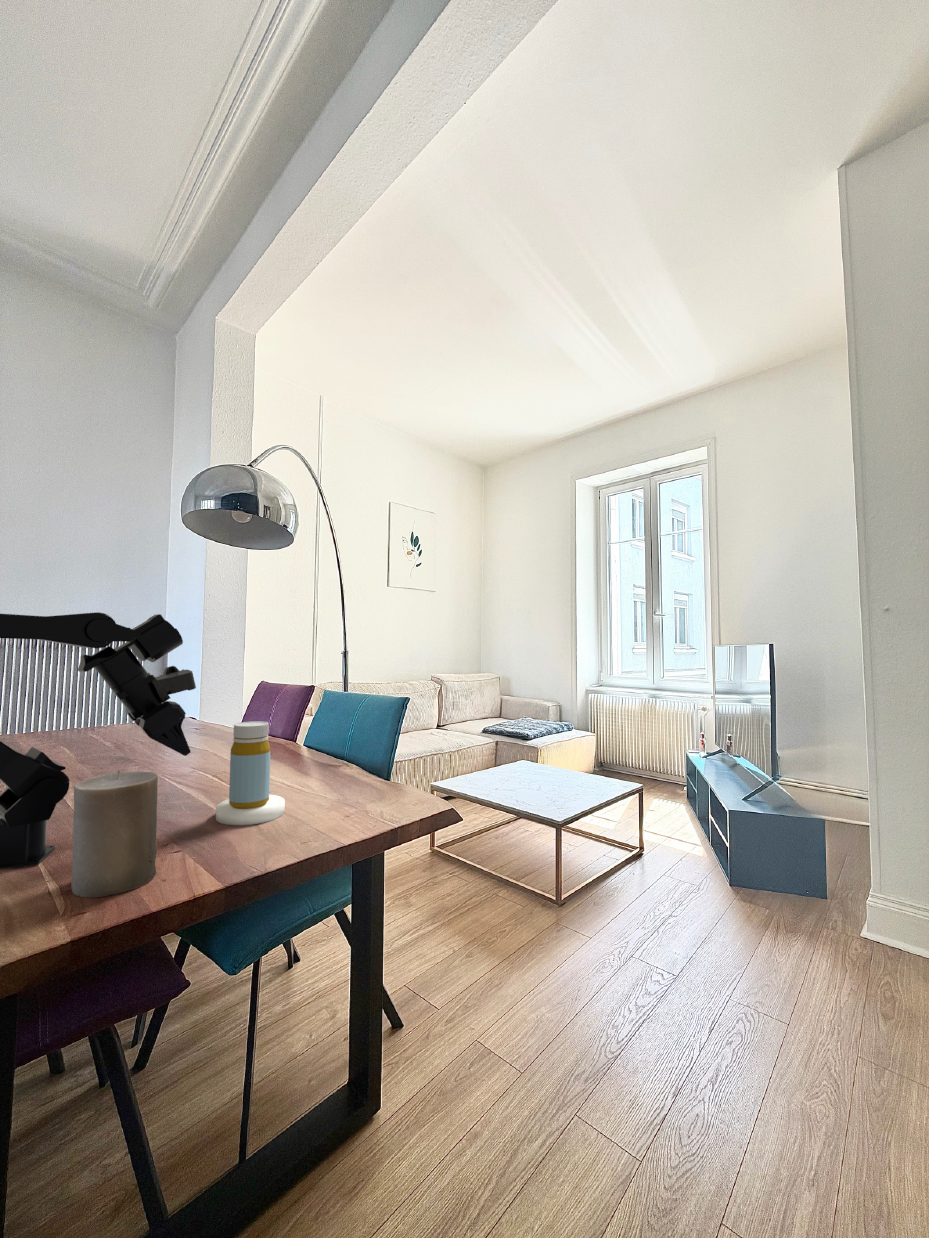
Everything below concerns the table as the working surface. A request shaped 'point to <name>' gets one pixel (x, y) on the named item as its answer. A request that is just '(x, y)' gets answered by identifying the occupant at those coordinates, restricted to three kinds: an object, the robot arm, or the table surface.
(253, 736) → the bottle
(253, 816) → the round base
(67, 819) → the table surface
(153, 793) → the pillar candle
